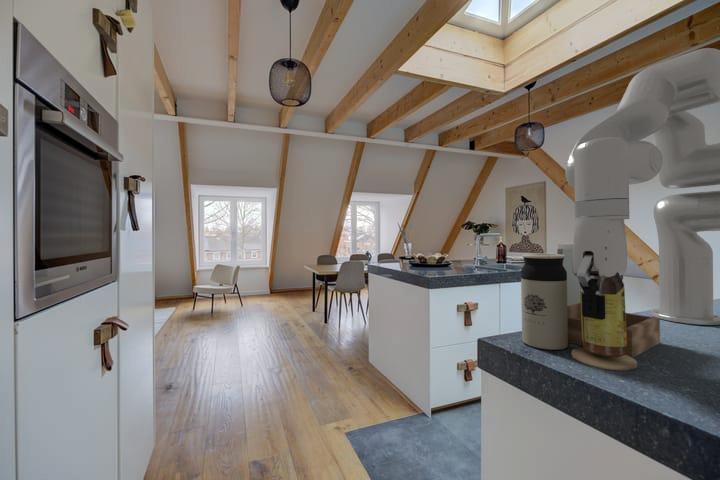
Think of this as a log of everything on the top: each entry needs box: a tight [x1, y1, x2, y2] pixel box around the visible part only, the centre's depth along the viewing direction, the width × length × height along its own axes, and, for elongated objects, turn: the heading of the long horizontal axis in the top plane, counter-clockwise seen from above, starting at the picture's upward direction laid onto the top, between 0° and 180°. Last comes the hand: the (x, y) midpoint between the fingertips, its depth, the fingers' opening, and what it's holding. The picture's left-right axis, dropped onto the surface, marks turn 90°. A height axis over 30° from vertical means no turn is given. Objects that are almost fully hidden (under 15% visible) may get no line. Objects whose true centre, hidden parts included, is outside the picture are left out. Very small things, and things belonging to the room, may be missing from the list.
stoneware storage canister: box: [520, 253, 569, 351], centre depth 64 cm, size 8×8×18 cm
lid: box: [556, 242, 581, 306], centre depth 69 cm, size 15×1×20 cm, turn 122°
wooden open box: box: [567, 303, 661, 359], centre depth 65 cm, size 14×12×7 cm
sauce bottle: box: [580, 272, 627, 357], centre depth 55 cm, size 7×6×20 cm
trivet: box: [571, 347, 638, 372], centre depth 55 cm, size 9×9×1 cm
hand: (602, 313), depth 55 cm, fingers closed on sauce bottle, 6 cm apart
